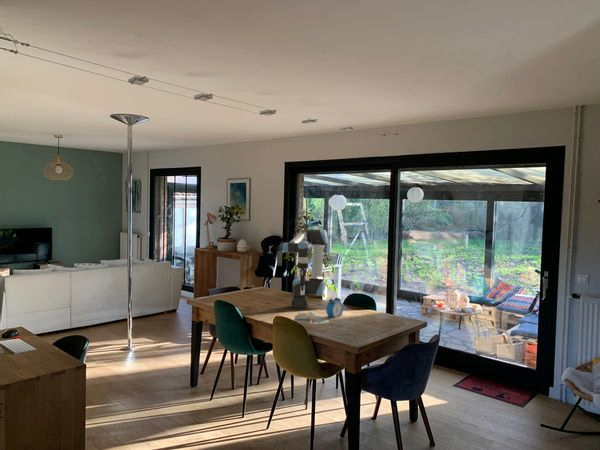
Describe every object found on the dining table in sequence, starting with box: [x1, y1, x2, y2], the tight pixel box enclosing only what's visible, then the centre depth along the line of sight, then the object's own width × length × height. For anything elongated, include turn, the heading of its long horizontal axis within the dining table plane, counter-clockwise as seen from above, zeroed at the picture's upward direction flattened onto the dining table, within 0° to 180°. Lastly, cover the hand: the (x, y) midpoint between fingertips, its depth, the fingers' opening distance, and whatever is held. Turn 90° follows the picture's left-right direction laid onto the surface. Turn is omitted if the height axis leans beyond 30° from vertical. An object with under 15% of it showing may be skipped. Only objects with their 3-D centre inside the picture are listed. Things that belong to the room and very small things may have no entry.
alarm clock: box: [325, 297, 344, 318], centre depth 346 cm, size 13×6×15 cm, turn 136°
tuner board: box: [293, 314, 331, 325], centre depth 333 cm, size 24×26×2 cm
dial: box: [297, 309, 317, 325], centre depth 330 cm, size 16×13×6 cm
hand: (302, 294), depth 340 cm, fingers open, 3 cm apart
